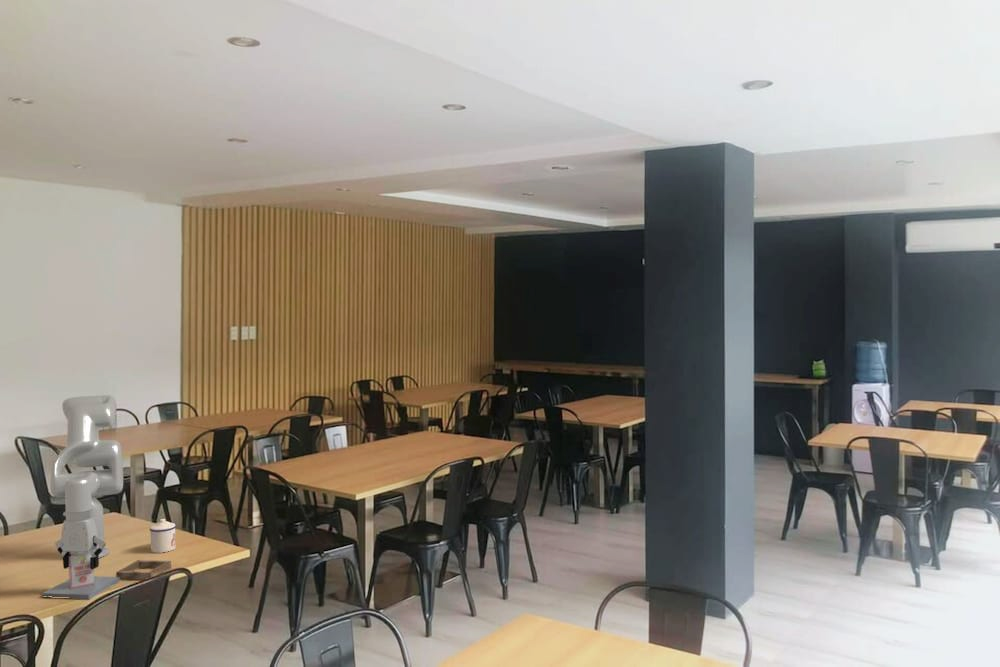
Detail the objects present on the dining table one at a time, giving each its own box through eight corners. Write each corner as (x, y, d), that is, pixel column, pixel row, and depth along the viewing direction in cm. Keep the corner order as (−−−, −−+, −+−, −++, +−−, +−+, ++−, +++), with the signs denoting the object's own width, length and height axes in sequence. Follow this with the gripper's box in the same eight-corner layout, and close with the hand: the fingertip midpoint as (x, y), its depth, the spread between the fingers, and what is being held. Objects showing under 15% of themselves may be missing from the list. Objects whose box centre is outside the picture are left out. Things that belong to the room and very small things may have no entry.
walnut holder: (116, 579, 266) (116, 572, 265) (138, 567, 278) (137, 560, 278) (151, 580, 264) (150, 573, 264) (171, 567, 276) (171, 560, 276)
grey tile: (42, 597, 250) (42, 593, 250) (75, 580, 266) (75, 575, 265) (88, 599, 248) (88, 594, 248) (119, 581, 264) (119, 577, 263)
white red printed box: (69, 585, 256) (68, 555, 256) (92, 581, 260) (91, 551, 260) (70, 588, 253) (69, 558, 253) (94, 584, 257) (92, 553, 257)
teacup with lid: (177, 551, 296) (176, 520, 295) (151, 555, 291) (150, 523, 291) (174, 542, 306) (173, 513, 306) (149, 546, 302) (148, 516, 302)
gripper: (46, 518, 253) (48, 570, 254) (96, 519, 251) (98, 572, 252) (62, 512, 260) (64, 563, 261) (110, 512, 258) (112, 564, 259)
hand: (81, 567), depth 256 cm, fingers open, 9 cm apart
